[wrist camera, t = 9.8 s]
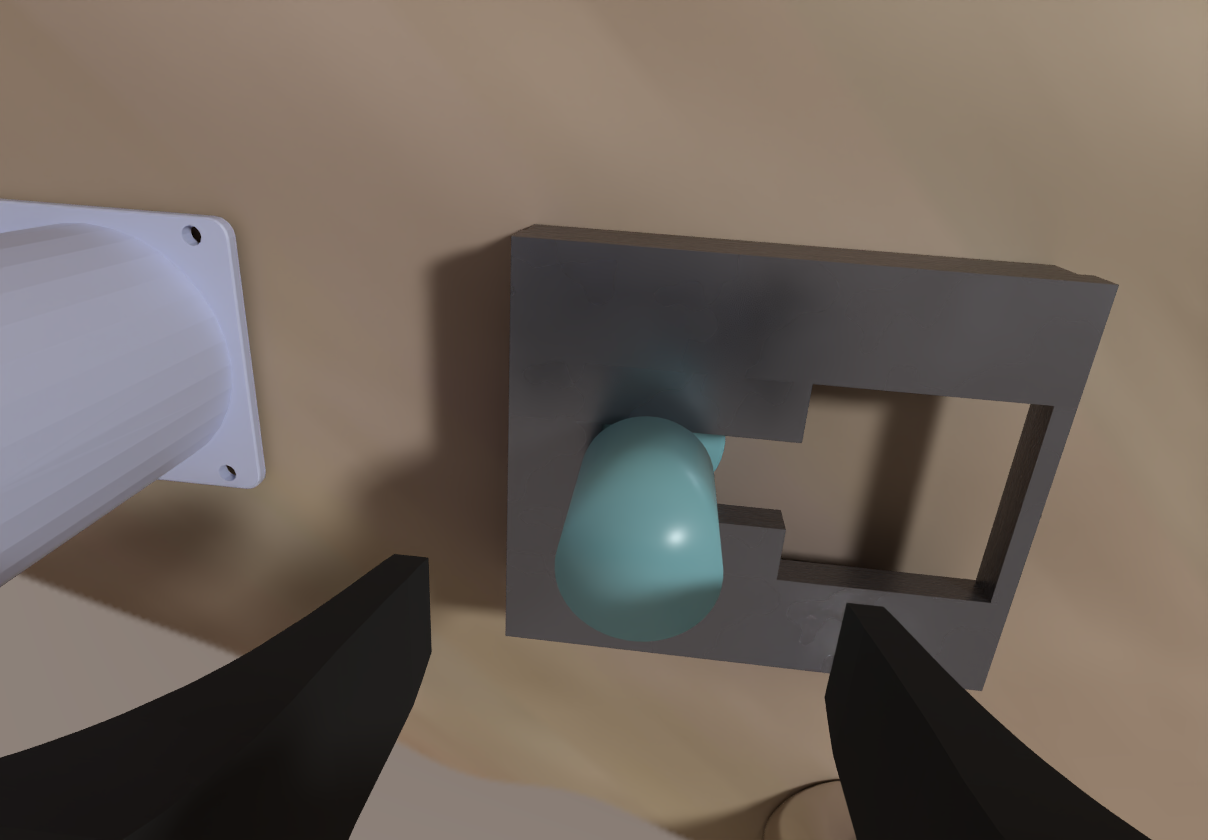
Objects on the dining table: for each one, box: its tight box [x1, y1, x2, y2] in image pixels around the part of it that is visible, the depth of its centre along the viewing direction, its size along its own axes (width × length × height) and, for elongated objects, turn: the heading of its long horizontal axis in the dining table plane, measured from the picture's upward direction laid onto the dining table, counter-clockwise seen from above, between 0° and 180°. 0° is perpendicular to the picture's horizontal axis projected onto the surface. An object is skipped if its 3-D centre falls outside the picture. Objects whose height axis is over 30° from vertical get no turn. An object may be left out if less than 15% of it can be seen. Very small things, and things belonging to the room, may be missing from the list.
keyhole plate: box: [506, 224, 1119, 691], centre depth 19 cm, size 13×11×3 cm
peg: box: [555, 416, 725, 642], centre depth 17 cm, size 4×4×7 cm
